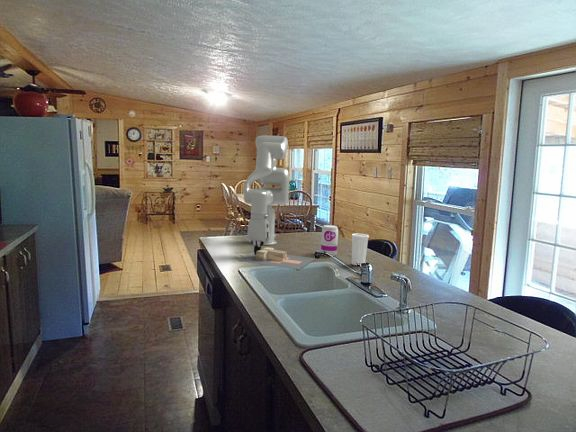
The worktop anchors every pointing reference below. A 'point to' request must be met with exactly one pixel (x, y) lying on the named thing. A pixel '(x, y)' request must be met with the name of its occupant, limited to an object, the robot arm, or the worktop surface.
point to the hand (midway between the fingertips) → (257, 254)
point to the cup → (359, 248)
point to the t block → (270, 254)
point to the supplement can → (329, 239)
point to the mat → (290, 261)
